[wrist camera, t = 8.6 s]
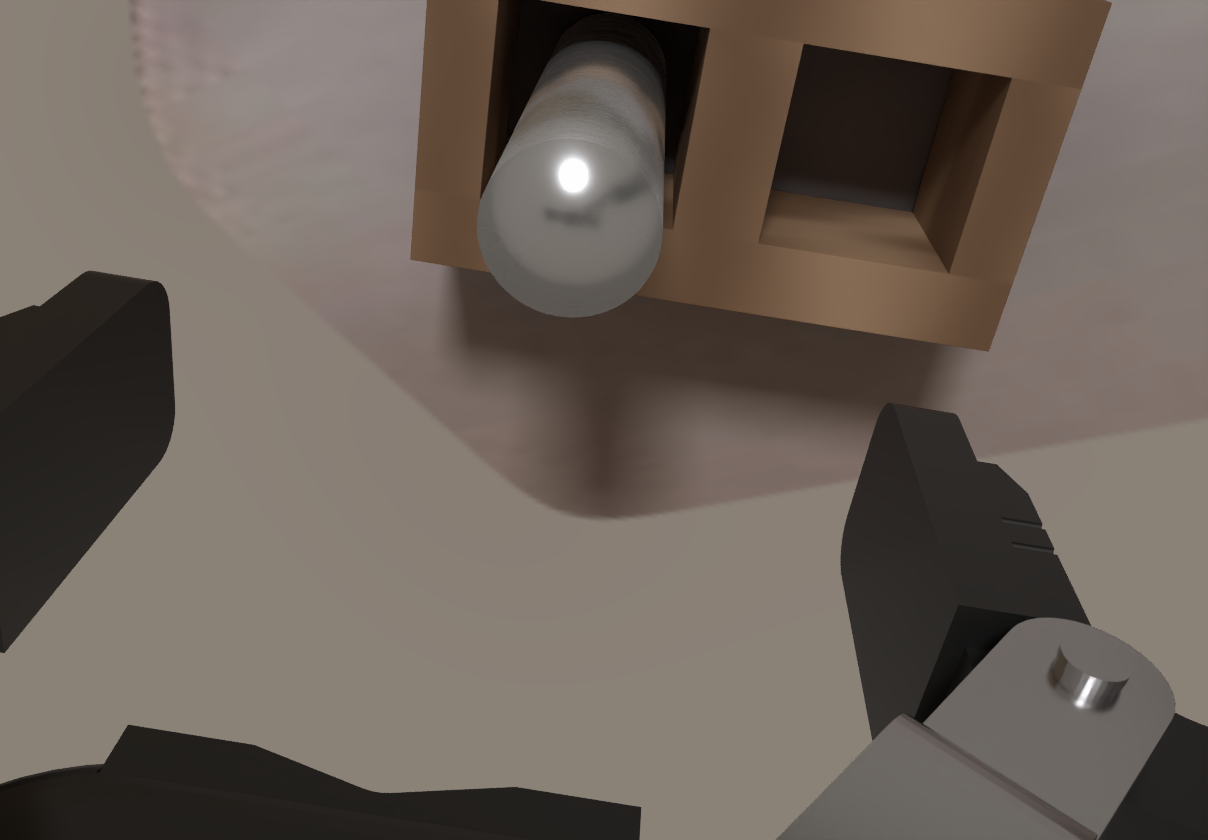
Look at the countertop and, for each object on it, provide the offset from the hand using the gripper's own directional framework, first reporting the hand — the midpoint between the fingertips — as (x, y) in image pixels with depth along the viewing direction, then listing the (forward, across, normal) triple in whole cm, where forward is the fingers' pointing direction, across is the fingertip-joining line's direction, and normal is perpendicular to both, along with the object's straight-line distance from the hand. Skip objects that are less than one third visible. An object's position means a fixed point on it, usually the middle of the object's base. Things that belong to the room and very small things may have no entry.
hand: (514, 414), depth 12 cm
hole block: (+18, -3, 0) cm, 18 cm away
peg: (+18, 0, 0) cm, 18 cm away
